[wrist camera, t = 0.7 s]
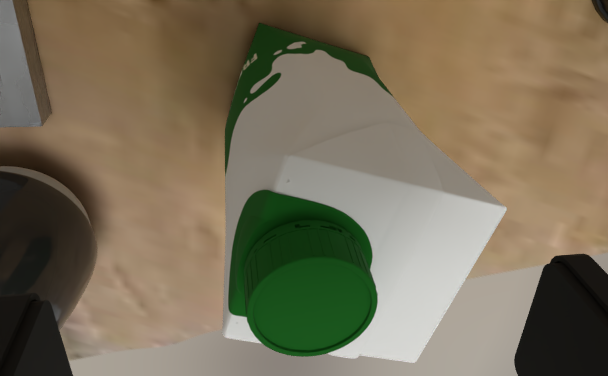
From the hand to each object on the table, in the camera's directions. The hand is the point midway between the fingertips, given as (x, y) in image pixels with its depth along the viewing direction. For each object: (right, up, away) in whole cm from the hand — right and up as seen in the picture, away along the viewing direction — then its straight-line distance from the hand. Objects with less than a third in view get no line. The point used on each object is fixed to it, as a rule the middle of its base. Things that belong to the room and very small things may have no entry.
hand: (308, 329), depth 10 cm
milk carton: (0, +9, +23) cm, 25 cm away
